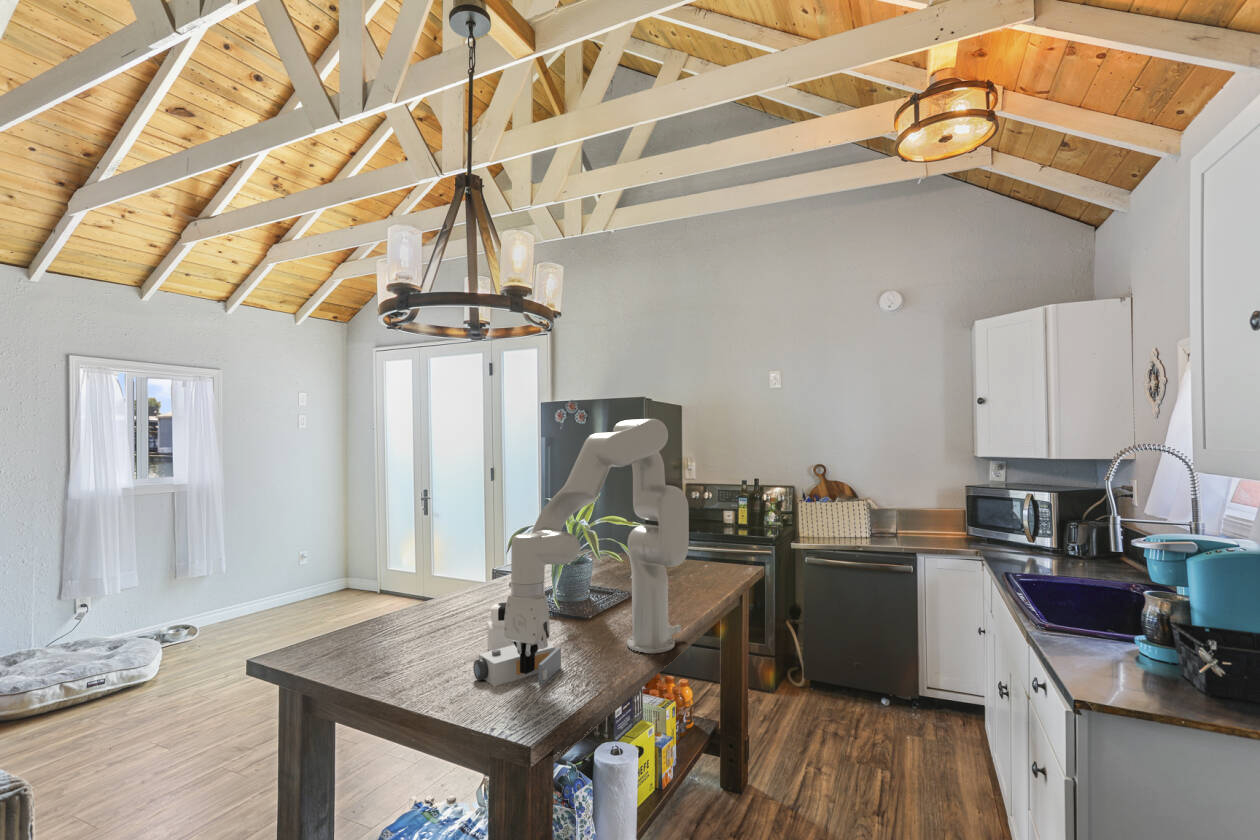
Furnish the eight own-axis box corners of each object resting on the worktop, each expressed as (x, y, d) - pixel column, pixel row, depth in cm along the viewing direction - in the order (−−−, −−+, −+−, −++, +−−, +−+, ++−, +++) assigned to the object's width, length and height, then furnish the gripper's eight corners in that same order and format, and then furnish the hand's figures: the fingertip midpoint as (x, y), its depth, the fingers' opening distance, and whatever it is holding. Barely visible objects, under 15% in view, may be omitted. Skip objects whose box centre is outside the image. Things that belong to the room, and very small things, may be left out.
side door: (558, 665, 142) (558, 646, 142) (564, 666, 141) (563, 647, 141) (538, 685, 130) (538, 664, 131) (544, 686, 130) (544, 665, 130)
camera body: (538, 658, 147) (538, 635, 148) (555, 667, 141) (555, 643, 141) (471, 677, 136) (471, 652, 136) (487, 688, 130) (487, 662, 130)
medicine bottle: (514, 644, 158) (514, 599, 158) (519, 653, 151) (518, 606, 152) (487, 648, 155) (487, 602, 156) (491, 657, 149) (490, 609, 149)
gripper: (491, 588, 134) (490, 670, 133) (543, 596, 126) (542, 684, 126) (513, 582, 141) (513, 660, 140) (564, 589, 133) (564, 672, 132)
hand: (527, 671), depth 133 cm, fingers closed
